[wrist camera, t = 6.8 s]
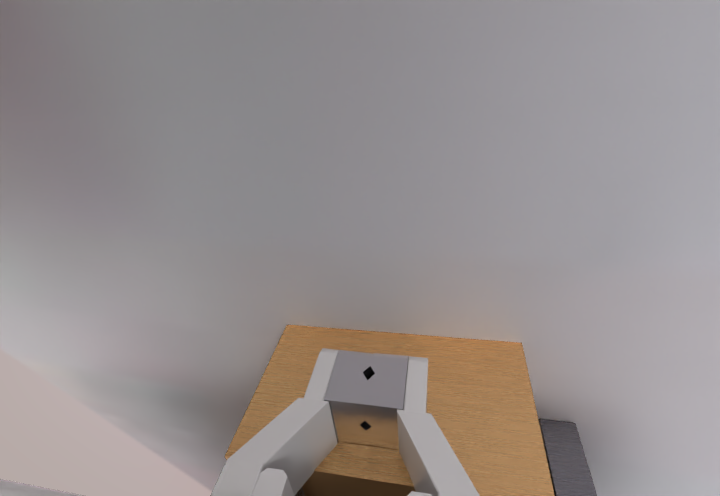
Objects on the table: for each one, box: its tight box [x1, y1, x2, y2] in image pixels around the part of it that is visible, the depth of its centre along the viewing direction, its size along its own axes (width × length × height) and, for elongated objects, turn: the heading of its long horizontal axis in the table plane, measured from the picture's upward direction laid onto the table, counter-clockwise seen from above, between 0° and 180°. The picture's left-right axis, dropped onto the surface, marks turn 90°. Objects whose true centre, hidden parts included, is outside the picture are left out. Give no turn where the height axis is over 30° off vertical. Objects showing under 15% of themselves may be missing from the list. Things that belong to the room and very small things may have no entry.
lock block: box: [225, 325, 555, 496], centre depth 13 cm, size 9×8×5 cm
